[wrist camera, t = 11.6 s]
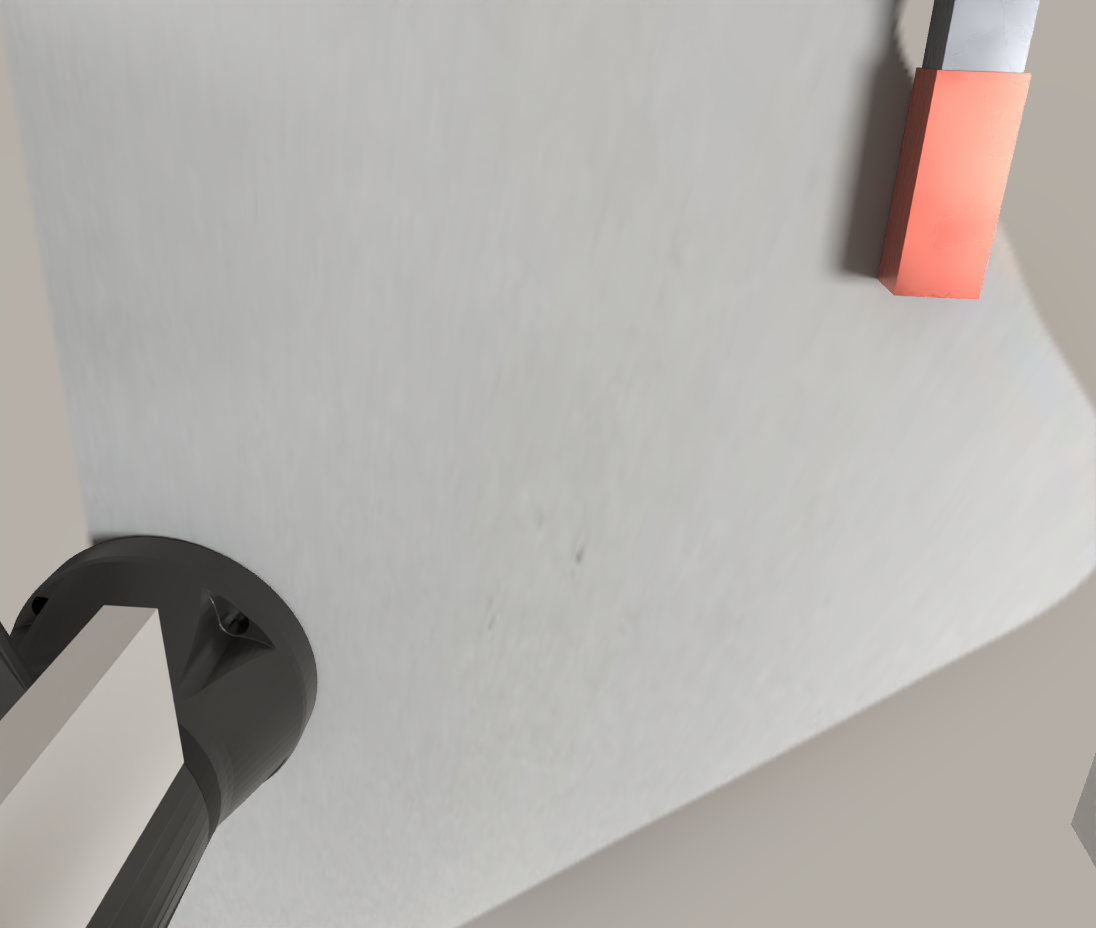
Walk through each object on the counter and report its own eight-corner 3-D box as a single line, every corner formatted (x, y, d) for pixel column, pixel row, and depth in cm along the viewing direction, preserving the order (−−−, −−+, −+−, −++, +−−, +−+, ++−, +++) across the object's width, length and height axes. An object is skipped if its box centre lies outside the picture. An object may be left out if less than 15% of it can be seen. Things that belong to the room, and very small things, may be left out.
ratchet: (845, 277, 39) (885, 321, 33) (949, -336, 30) (1028, -425, 24) (989, 284, 38) (1056, 330, 32) (1134, -333, 30) (1260, -422, 24)
